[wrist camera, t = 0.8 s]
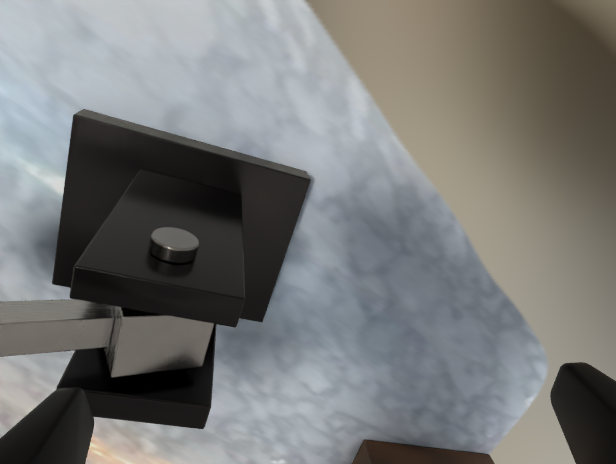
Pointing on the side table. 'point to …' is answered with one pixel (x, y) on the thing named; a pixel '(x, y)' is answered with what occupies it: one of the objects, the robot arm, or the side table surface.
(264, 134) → the side table surface
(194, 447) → the side table surface
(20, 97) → the side table surface
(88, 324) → the lever
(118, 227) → the bracket
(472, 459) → the button block
